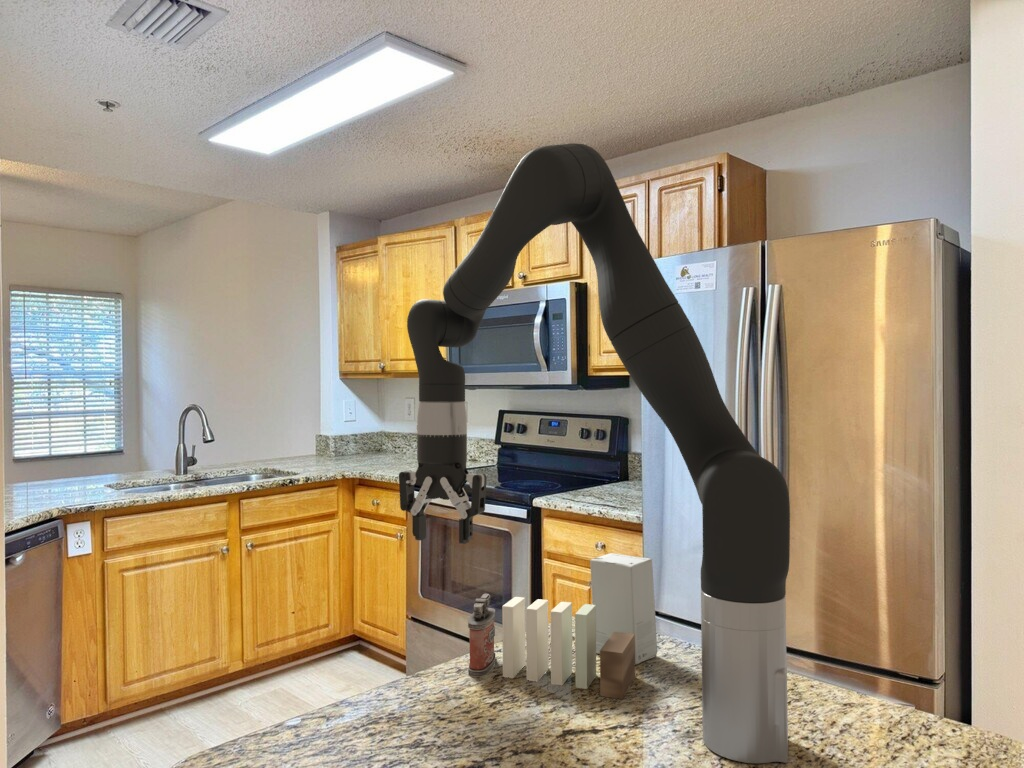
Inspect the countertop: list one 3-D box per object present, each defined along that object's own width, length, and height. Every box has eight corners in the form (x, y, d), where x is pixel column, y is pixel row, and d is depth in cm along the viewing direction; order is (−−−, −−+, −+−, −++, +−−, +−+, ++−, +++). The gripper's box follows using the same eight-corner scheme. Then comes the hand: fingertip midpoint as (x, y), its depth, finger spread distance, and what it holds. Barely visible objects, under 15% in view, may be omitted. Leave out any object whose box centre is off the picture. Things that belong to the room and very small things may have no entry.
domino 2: (548, 668, 103) (548, 600, 104) (537, 681, 99) (536, 609, 99) (538, 667, 104) (537, 599, 104) (526, 680, 99) (526, 608, 100)
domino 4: (575, 687, 97) (574, 613, 97) (585, 674, 101) (584, 603, 102) (586, 689, 96) (586, 615, 96) (596, 675, 101) (595, 604, 101)
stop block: (635, 676, 100) (634, 634, 100) (622, 699, 93) (622, 653, 93) (614, 673, 101) (613, 631, 101) (600, 695, 94) (599, 650, 94)
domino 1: (525, 665, 105) (525, 597, 105) (513, 678, 100) (512, 607, 100) (515, 664, 105) (515, 596, 106) (502, 676, 101) (502, 605, 101)
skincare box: (658, 656, 108) (657, 558, 108) (634, 667, 104) (633, 565, 104) (614, 643, 114) (613, 550, 114) (590, 652, 110) (589, 556, 110)
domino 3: (572, 672, 102) (571, 602, 102) (562, 685, 97) (561, 612, 98) (561, 670, 103) (561, 601, 103) (550, 683, 98) (550, 611, 98)
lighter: (487, 677, 100) (486, 606, 100) (463, 676, 101) (463, 605, 101) (499, 657, 108) (498, 591, 108) (477, 655, 109) (477, 590, 109)
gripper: (495, 431, 108) (495, 540, 108) (412, 429, 114) (412, 533, 113) (474, 433, 101) (475, 550, 101) (388, 432, 107) (387, 542, 106)
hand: (442, 540), depth 107 cm, fingers open, 7 cm apart
